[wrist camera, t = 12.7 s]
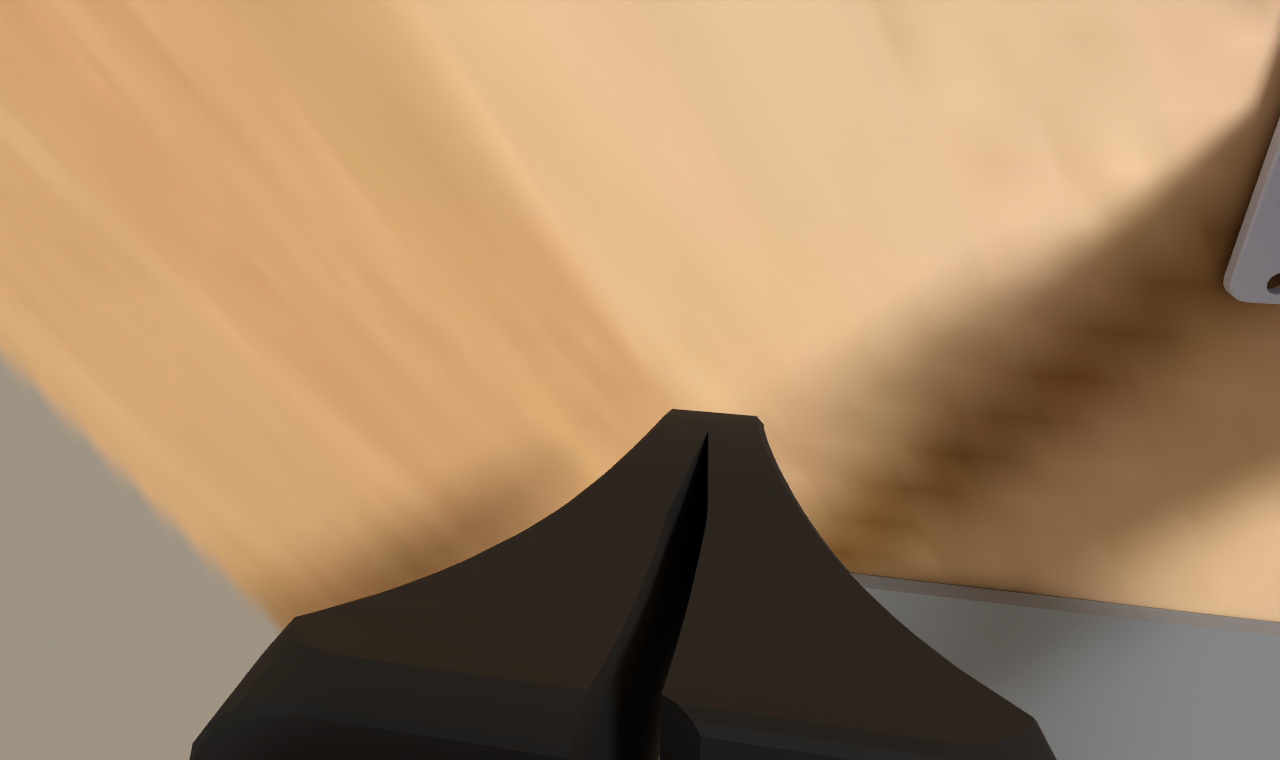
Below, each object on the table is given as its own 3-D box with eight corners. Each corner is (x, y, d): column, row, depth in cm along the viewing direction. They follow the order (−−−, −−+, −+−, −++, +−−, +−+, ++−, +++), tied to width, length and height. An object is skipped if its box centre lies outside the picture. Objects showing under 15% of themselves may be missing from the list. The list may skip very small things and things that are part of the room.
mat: (1417, 638, 22) (1433, 654, 21) (1252, 919, 27) (1261, 937, 27) (631, 548, 25) (627, 560, 24) (631, 815, 31) (628, 829, 30)
